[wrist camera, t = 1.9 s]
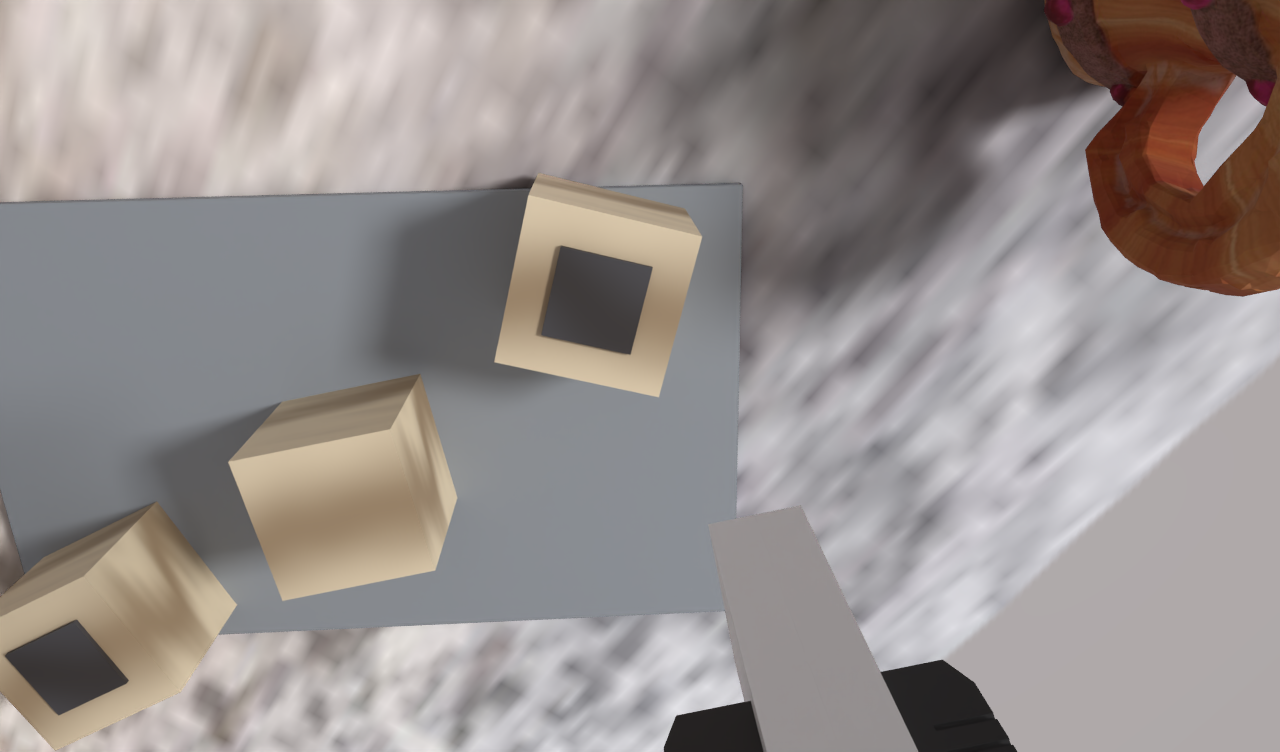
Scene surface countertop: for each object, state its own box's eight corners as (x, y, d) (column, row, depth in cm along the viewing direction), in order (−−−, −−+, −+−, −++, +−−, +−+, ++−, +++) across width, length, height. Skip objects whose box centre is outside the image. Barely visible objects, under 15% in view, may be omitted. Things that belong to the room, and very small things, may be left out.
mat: (-71, 204, 35) (-82, 206, 34) (740, 182, 36) (742, 184, 36) (51, 634, 42) (44, 642, 41) (732, 603, 43) (734, 610, 43)
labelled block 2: (538, 172, 35) (527, 195, 29) (684, 208, 36) (703, 237, 30) (509, 315, 37) (493, 364, 31) (648, 346, 38) (659, 399, 32)
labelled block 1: (43, 557, 40) (-51, 643, 34) (156, 501, 39) (80, 579, 33) (127, 656, 42) (52, 754, 36) (236, 604, 41) (178, 695, 35)
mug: (1069, -191, 33) (1438, -381, 18) (1268, -132, 34) (1763, -270, 19) (937, 205, 37) (1150, 295, 23) (1115, 246, 38) (1425, 357, 24)
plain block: (282, 401, 38) (228, 461, 32) (420, 373, 38) (390, 429, 32) (326, 524, 40) (282, 601, 34) (457, 497, 40) (435, 570, 34)
